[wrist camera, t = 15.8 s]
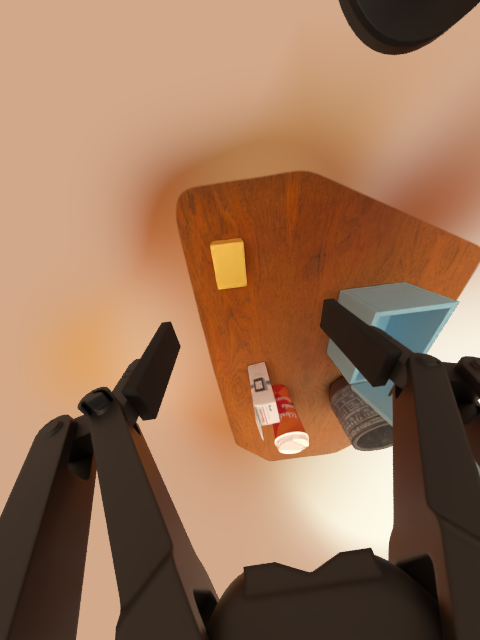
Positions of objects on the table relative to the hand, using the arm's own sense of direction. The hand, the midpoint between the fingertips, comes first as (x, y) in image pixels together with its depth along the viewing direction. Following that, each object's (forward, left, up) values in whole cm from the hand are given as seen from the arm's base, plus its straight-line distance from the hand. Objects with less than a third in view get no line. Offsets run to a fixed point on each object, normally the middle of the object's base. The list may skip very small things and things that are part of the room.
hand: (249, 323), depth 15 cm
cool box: (-10, +31, -20) cm, 38 cm away
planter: (+5, +50, -20) cm, 54 cm away
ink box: (+18, +24, -20) cm, 36 cm away
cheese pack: (0, -2, -20) cm, 20 cm away
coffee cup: (+20, +34, -20) cm, 45 cm away
